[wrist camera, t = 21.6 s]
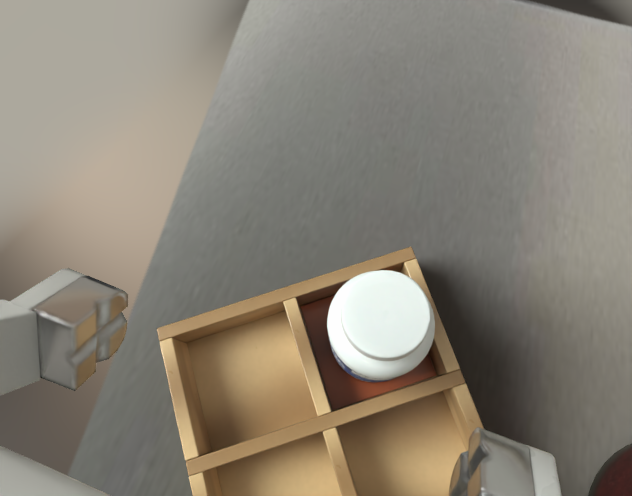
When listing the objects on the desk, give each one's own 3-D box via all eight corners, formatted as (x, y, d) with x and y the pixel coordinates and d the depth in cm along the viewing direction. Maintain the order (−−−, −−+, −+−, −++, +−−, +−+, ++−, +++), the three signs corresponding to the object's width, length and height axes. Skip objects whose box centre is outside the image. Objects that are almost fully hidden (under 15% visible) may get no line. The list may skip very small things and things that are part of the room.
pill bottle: (330, 296, 32) (326, 253, 23) (414, 298, 32) (444, 255, 23) (328, 382, 31) (323, 373, 21) (416, 385, 30) (449, 377, 21)
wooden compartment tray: (503, 515, 29) (524, 529, 25) (237, 608, 28) (223, 636, 25) (404, 261, 33) (411, 246, 30) (174, 335, 33) (155, 328, 29)
